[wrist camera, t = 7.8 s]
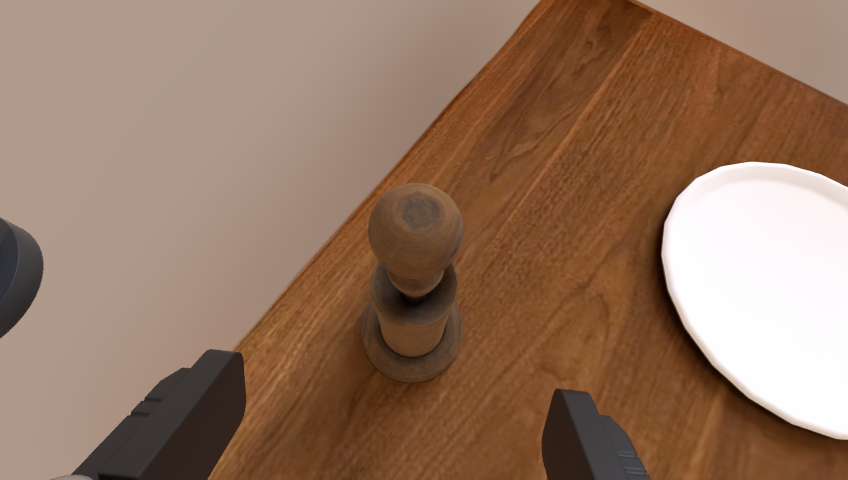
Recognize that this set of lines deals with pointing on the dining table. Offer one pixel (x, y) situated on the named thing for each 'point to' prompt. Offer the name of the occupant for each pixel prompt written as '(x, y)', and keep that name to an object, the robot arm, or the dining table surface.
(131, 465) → the robot arm
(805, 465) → the dining table surface
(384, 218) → the mortar and pestle
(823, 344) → the plate
